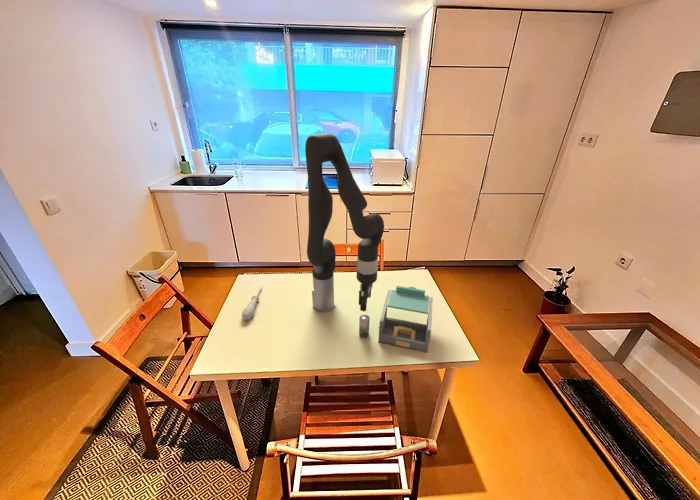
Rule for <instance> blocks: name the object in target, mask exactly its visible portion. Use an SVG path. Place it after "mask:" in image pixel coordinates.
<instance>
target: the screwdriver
mask: <svg viewBox="0 0 700 500" xmlns="http://www.w3.org/2000/svg"><path fill="white" fill-rule="evenodd" d="M262 288H263V286H260V288H259V290H258V292H257V294H256V295H252V296H251V300H250V301H249V303H248V304H247V305H246V306H245V308H243V310H242V312H241V318H242V319H243V320H244V321H249V320H250V319H252V317H253V316H254V314H255V311H256V310H255V309H256V306H257V304H258V302H259V301H260V298H259V294H260V293H261V290H262Z"/></svg>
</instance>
